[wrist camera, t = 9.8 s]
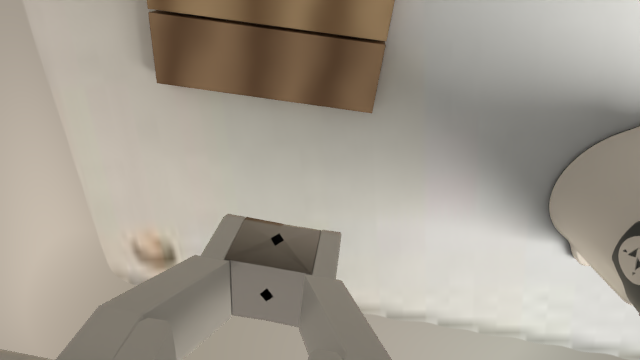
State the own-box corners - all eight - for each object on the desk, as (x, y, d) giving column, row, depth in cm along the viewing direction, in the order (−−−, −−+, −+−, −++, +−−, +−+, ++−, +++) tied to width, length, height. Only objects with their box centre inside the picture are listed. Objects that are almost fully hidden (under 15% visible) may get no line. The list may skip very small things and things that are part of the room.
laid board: (384, 41, 32) (385, 45, 30) (371, 107, 35) (371, 113, 33) (157, 10, 32) (148, 12, 31) (164, 78, 35) (156, 82, 34)
